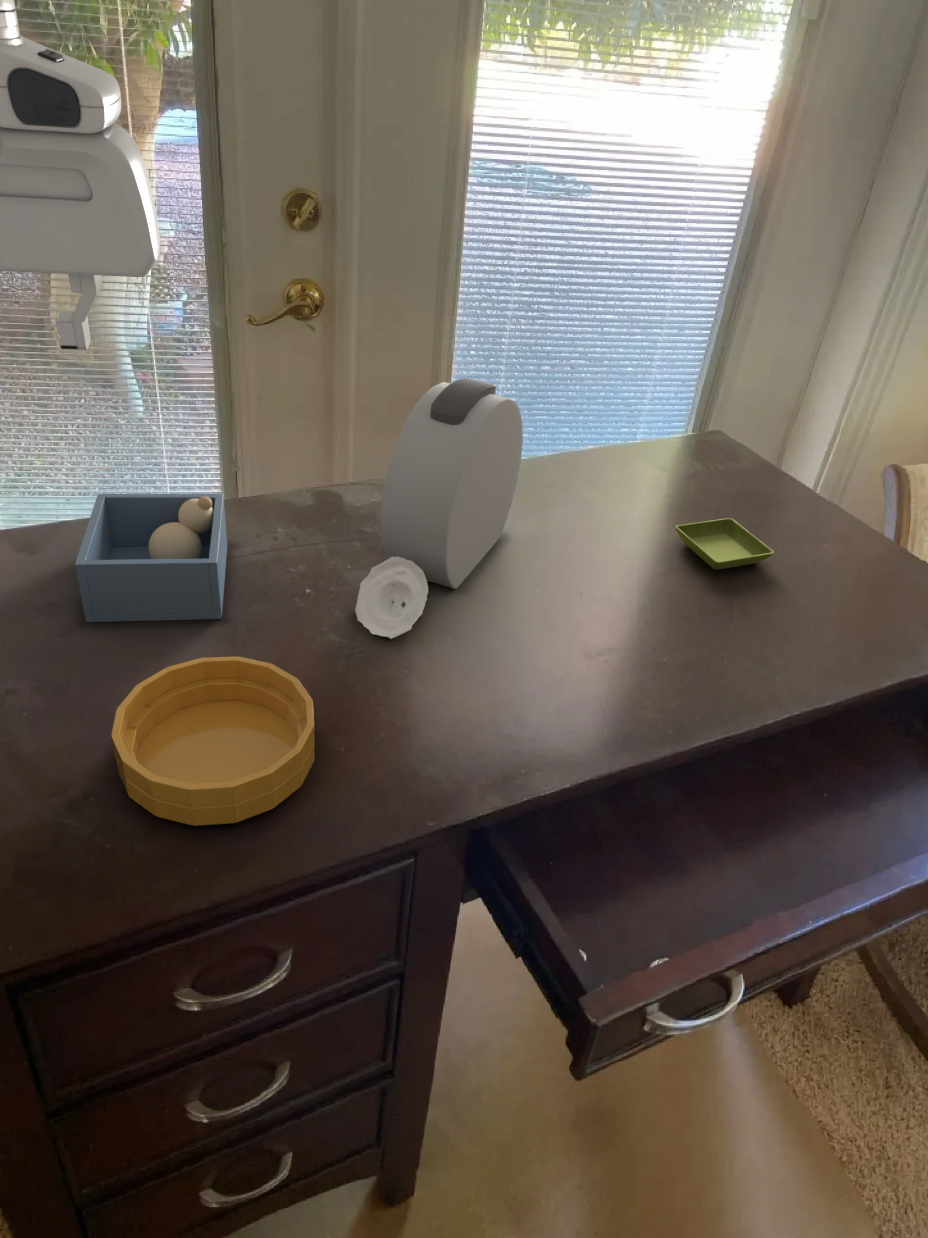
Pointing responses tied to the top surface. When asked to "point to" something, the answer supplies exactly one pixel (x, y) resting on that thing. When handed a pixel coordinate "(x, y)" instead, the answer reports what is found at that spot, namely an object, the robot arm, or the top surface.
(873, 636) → the top surface
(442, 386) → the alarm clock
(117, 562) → the bin
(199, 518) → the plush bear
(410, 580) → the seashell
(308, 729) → the bowl
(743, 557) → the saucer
